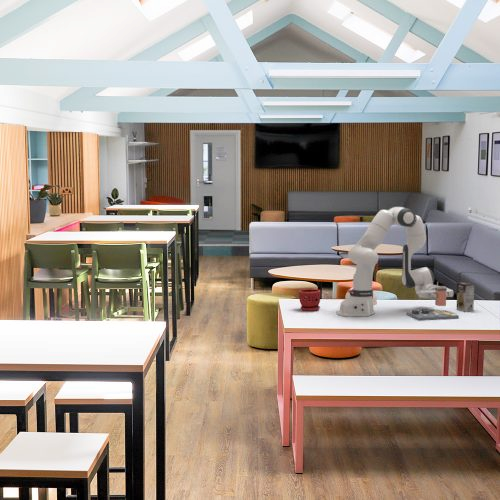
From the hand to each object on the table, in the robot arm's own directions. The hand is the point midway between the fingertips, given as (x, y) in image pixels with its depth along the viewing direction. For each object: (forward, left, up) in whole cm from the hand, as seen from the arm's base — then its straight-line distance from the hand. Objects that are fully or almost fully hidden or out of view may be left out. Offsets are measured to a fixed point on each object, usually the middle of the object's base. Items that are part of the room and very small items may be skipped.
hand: (441, 295), depth 444 cm
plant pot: (-68, +35, -12) cm, 78 cm away
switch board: (-6, -2, -11) cm, 13 cm away
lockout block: (0, +1, -5) cm, 6 cm away
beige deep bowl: (-31, +49, -12) cm, 59 cm away
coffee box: (+21, +12, -12) cm, 27 cm away
